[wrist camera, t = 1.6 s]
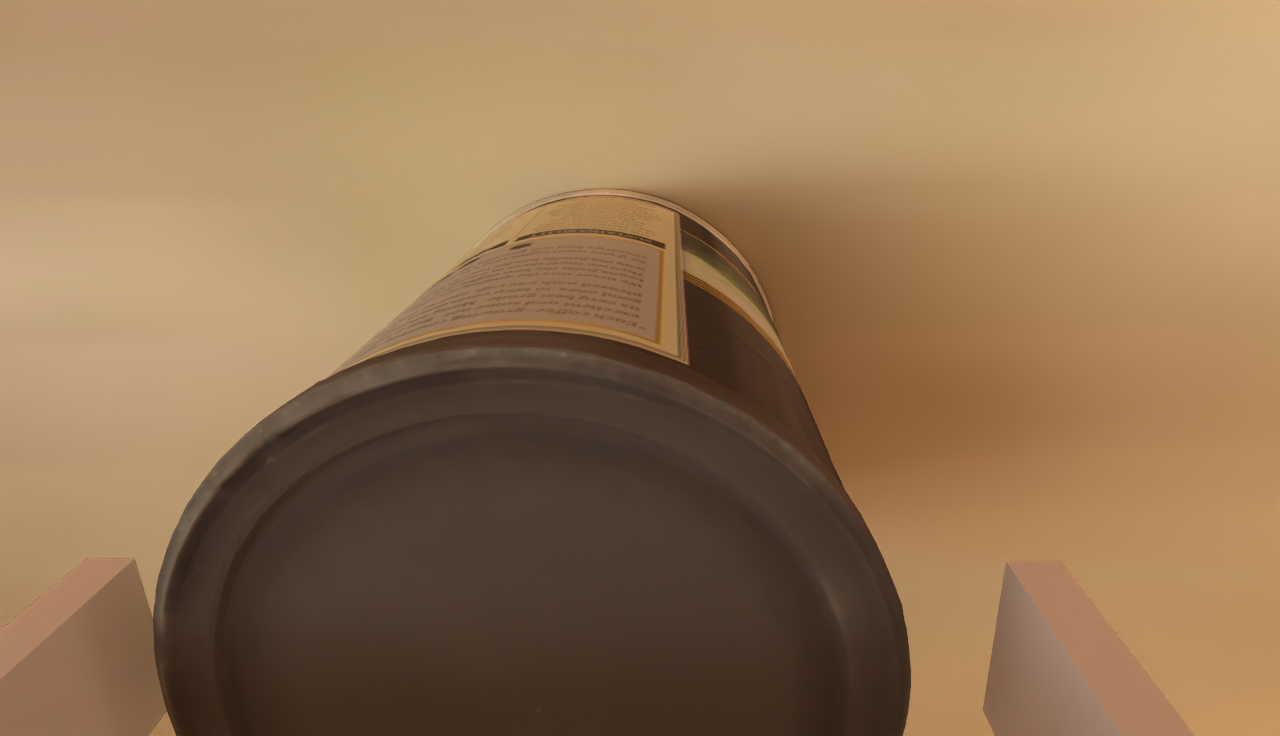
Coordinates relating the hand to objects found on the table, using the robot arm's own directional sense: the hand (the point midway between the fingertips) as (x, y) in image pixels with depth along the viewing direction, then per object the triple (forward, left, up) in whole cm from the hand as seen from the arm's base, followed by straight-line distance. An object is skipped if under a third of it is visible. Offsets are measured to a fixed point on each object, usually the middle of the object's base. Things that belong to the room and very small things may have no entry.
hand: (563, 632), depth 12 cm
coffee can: (0, 0, -13) cm, 13 cm away
